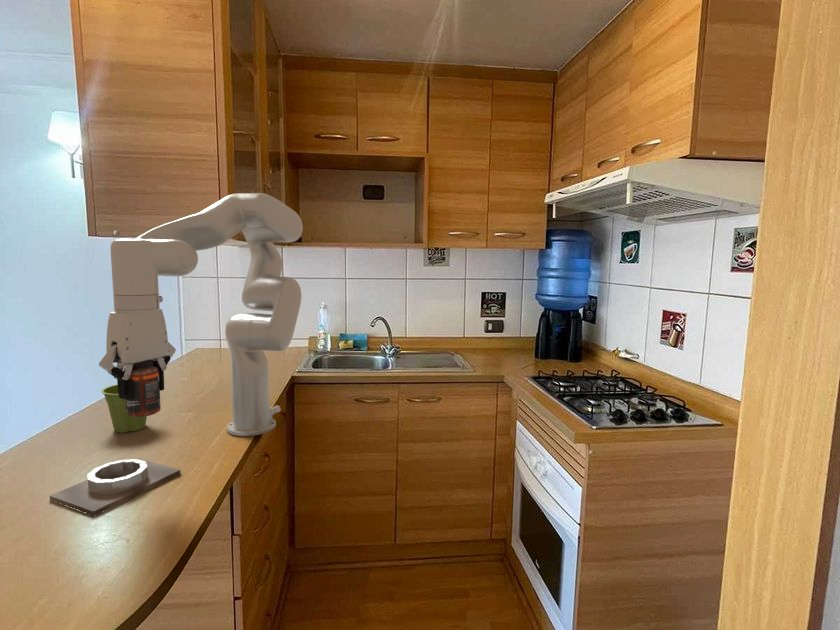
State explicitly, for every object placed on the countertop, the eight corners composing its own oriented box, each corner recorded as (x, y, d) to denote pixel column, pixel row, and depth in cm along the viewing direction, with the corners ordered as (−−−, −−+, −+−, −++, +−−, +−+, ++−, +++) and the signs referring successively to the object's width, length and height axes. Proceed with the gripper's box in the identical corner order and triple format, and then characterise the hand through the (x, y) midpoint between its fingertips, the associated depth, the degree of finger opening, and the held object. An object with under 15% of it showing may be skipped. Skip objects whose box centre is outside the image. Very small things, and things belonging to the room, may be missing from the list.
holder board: (139, 462, 105) (139, 458, 104) (180, 474, 100) (180, 469, 99) (49, 500, 88) (49, 495, 88) (93, 516, 83) (93, 511, 83)
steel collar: (126, 466, 100) (125, 455, 100) (158, 476, 96) (157, 464, 96) (76, 487, 91) (75, 475, 91) (110, 499, 87) (109, 486, 87)
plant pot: (145, 435, 120) (142, 393, 118) (95, 437, 118) (91, 394, 117) (162, 419, 132) (160, 381, 130) (117, 421, 130) (114, 382, 128)
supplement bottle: (166, 408, 95) (163, 354, 94) (151, 418, 89) (148, 360, 88) (136, 408, 95) (133, 354, 93) (119, 418, 89) (116, 360, 88)
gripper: (162, 299, 99) (166, 381, 101) (77, 306, 83) (84, 404, 85) (188, 300, 96) (192, 385, 98) (106, 309, 80) (113, 409, 82)
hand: (142, 393), depth 92 cm, fingers closed on supplement bottle, 6 cm apart
